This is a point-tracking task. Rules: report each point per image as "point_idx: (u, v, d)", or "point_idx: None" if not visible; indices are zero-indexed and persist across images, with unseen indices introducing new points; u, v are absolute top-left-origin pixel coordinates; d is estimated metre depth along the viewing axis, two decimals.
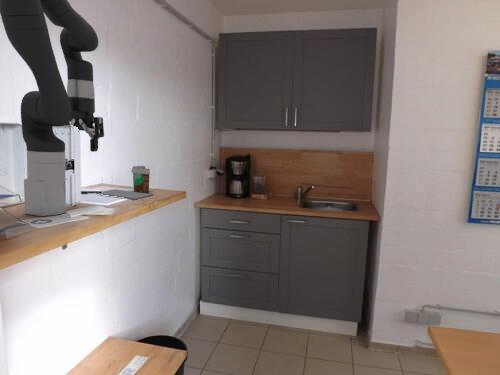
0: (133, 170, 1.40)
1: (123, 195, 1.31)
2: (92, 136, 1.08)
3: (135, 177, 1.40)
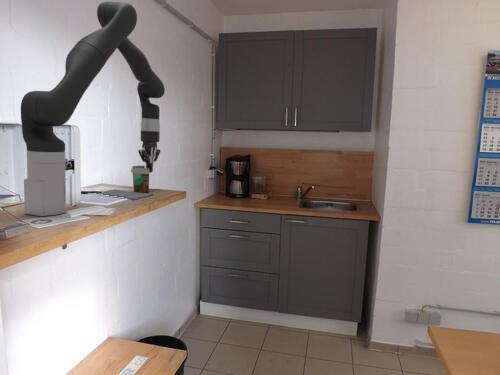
0: (133, 170, 1.39)
1: (123, 195, 1.31)
2: (153, 161, 1.49)
3: (135, 177, 1.40)
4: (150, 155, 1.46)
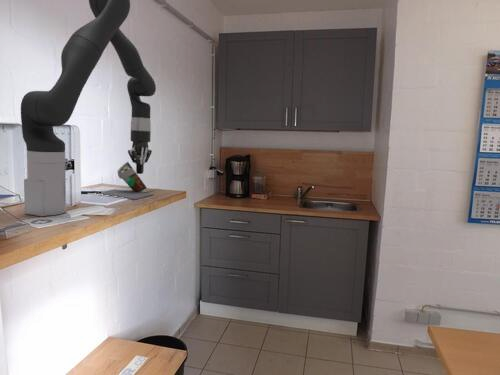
0: (120, 176, 1.37)
1: (123, 195, 1.31)
2: (144, 162, 1.43)
3: (126, 181, 1.38)
4: (140, 156, 1.40)
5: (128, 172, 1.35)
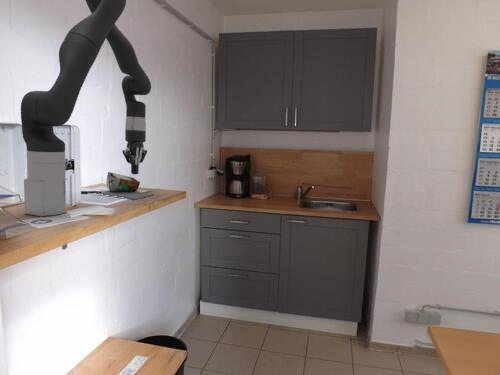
0: (111, 190, 1.36)
1: (123, 195, 1.31)
2: (139, 162, 1.40)
3: (119, 189, 1.37)
4: (135, 156, 1.37)
5: (114, 183, 1.33)
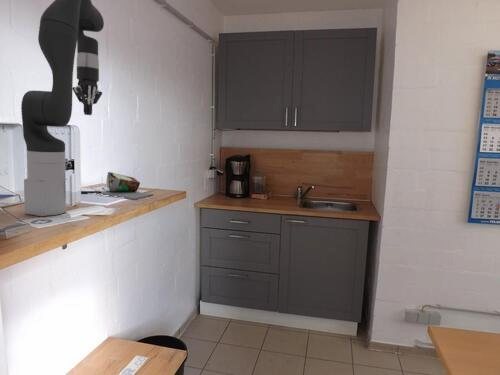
0: (111, 190, 1.36)
1: (123, 195, 1.31)
2: (92, 102, 1.35)
3: (119, 190, 1.37)
4: (87, 95, 1.32)
5: (115, 183, 1.33)
